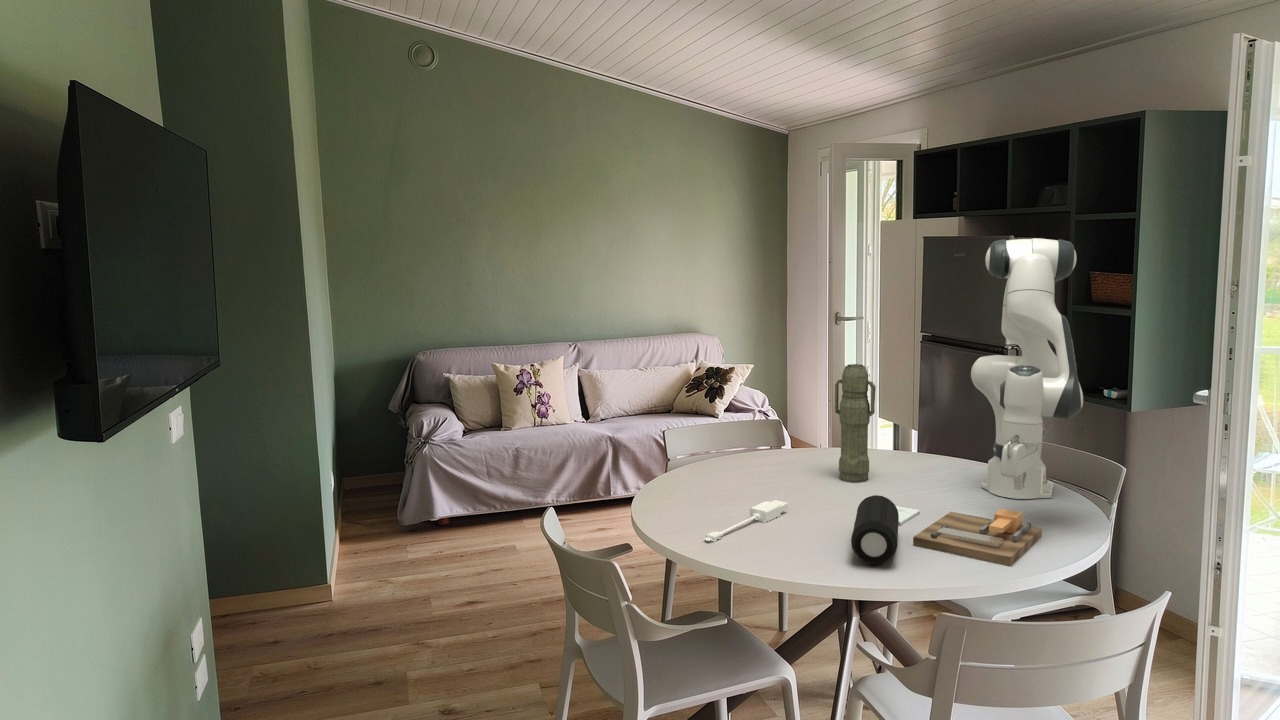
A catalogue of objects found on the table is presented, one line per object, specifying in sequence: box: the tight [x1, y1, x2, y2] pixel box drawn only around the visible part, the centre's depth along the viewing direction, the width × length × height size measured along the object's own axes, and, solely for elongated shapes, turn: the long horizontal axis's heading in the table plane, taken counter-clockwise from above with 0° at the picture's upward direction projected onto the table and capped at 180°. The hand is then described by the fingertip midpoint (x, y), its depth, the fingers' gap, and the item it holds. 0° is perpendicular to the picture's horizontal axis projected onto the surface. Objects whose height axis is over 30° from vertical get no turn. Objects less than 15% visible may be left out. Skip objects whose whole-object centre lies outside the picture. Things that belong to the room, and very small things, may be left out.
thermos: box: [834, 363, 876, 484], centre depth 253 cm, size 9×12×35 cm
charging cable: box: [703, 499, 789, 542], centre depth 214 cm, size 5×32×3 cm, turn 137°
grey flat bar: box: [937, 527, 1004, 547], centre depth 195 cm, size 4×14×1 cm, turn 50°
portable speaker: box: [850, 494, 899, 565], centre depth 195 cm, size 26×10×10 cm, turn 162°
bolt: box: [989, 508, 1024, 534], centre depth 198 cm, size 12×5×4 cm, turn 140°
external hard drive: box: [895, 505, 920, 527], centre depth 219 cm, size 2×8×12 cm
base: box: [912, 511, 1043, 567], centre depth 199 cm, size 24×22×4 cm
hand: (1019, 488), depth 205 cm, fingers closed
